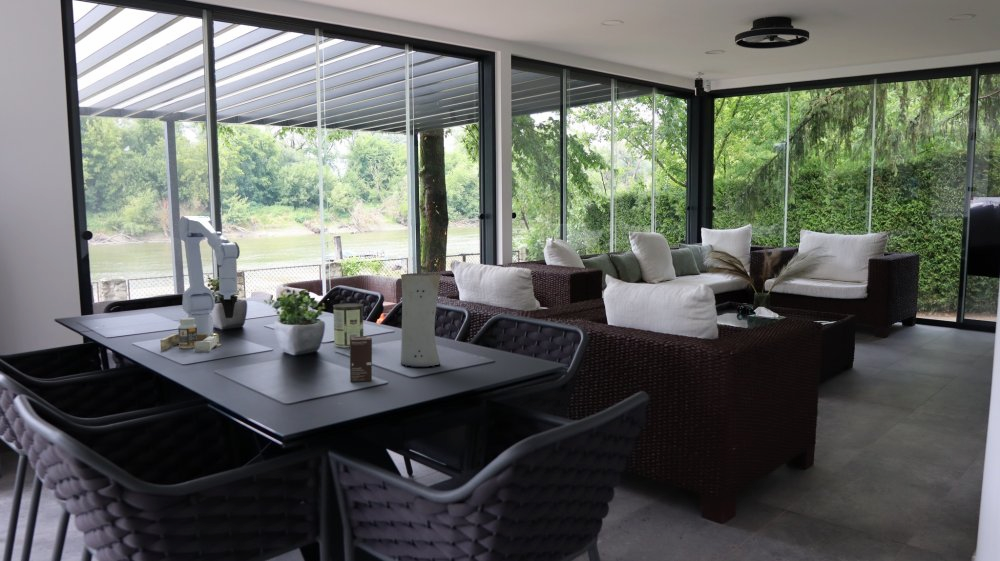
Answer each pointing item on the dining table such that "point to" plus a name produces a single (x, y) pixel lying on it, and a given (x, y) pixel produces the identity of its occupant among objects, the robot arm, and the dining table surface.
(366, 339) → the box
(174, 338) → the oak jamb corner
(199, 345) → the bracket
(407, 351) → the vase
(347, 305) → the coffee can
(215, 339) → the bar
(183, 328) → the pill bottle
